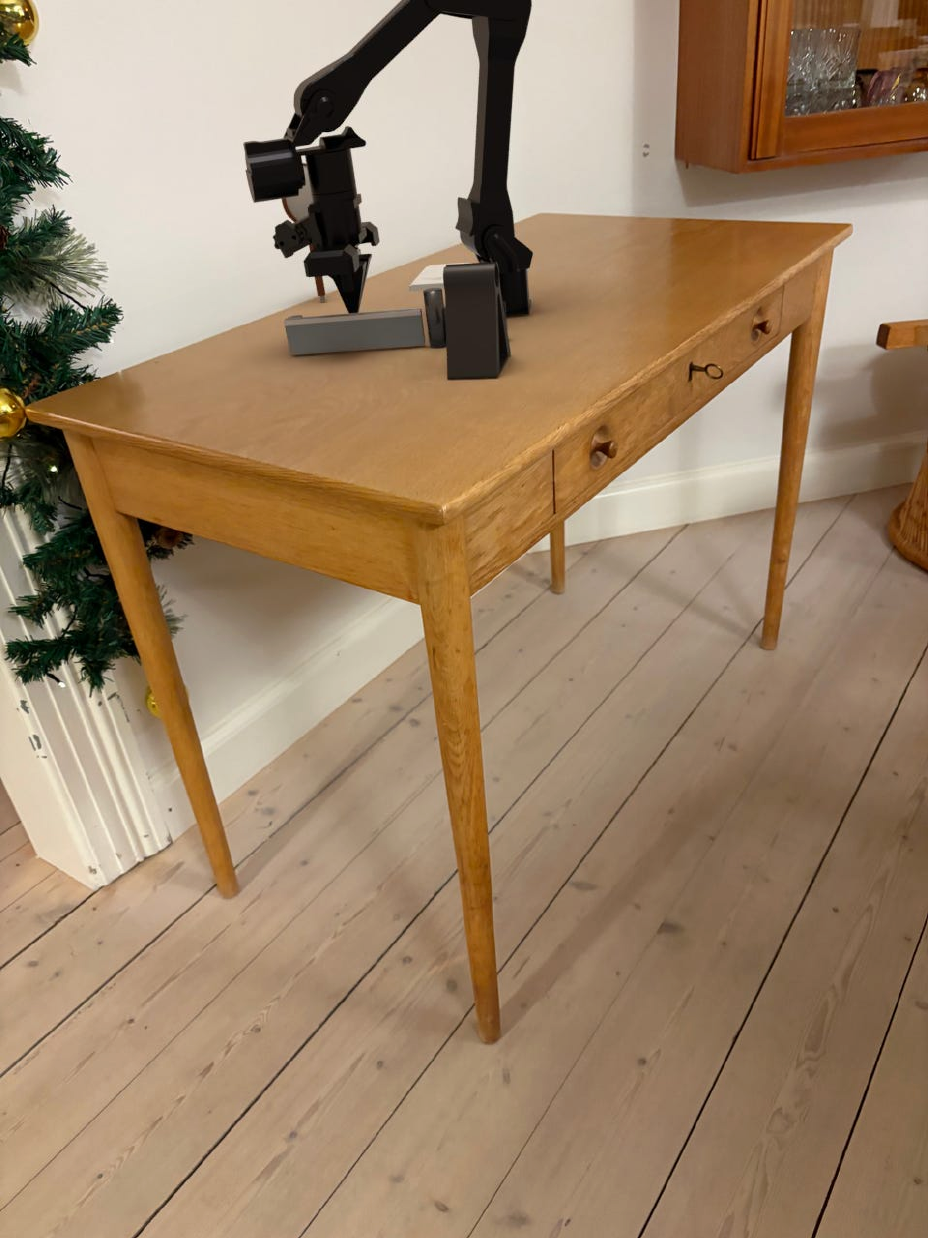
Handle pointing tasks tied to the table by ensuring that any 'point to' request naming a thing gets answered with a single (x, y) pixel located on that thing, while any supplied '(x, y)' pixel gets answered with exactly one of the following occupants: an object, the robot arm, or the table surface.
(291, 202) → the magnifying glass
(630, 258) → the table surface
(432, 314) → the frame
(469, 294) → the phone stand
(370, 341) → the grey flat bar
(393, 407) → the table surface
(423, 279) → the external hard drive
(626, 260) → the table surface
